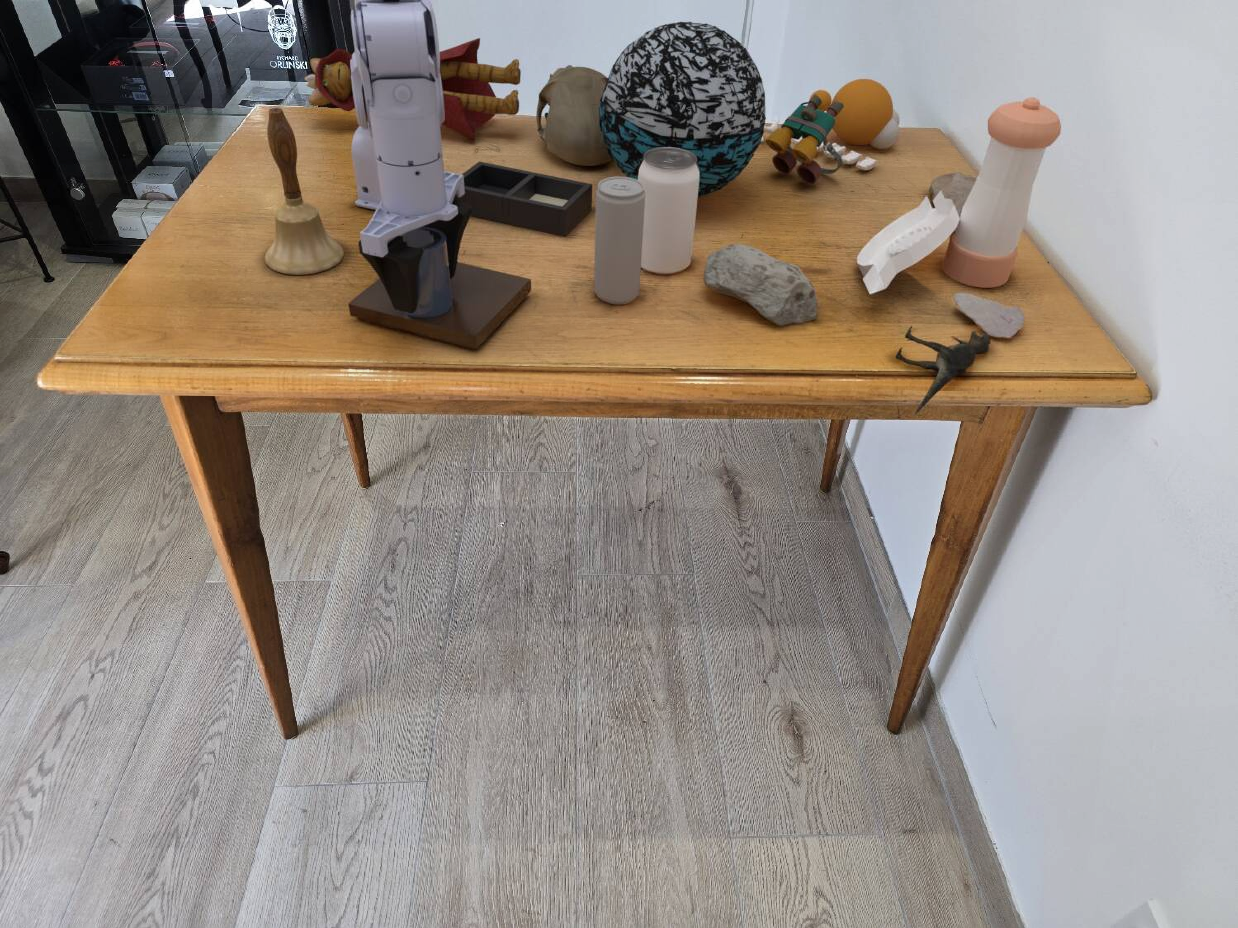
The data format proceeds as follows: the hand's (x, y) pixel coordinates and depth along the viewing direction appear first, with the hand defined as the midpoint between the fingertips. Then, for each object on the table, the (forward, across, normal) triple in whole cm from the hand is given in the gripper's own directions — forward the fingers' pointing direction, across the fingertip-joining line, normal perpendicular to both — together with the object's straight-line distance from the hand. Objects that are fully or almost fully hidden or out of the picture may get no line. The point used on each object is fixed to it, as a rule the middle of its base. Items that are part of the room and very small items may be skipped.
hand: (425, 292), depth 86 cm
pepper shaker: (+3, +35, -50) cm, 61 cm away
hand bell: (+4, +6, +19) cm, 20 cm away
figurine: (-1, +51, +14) cm, 53 cm away
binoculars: (+3, +52, -26) cm, 58 cm away
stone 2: (+4, +24, -52) cm, 57 cm away
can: (+4, +22, -17) cm, 28 cm away
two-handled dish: (0, +32, -43) cm, 54 cm away
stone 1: (+4, +51, -48) cm, 71 cm away
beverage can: (+4, +13, -15) cm, 20 cm away
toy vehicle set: (+1, +61, -29) cm, 68 cm away
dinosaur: (+2, +12, -44) cm, 46 cm away
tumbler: (+1, 0, 0) cm, 1 cm away
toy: (+1, +66, -23) cm, 69 cm away
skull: (+4, +50, +6) cm, 51 cm away
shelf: (+3, +3, 0) cm, 5 cm away
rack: (+3, +27, +3) cm, 27 cm away
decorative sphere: (+3, +40, -12) cm, 42 cm away
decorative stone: (+4, +19, -29) cm, 35 cm away
